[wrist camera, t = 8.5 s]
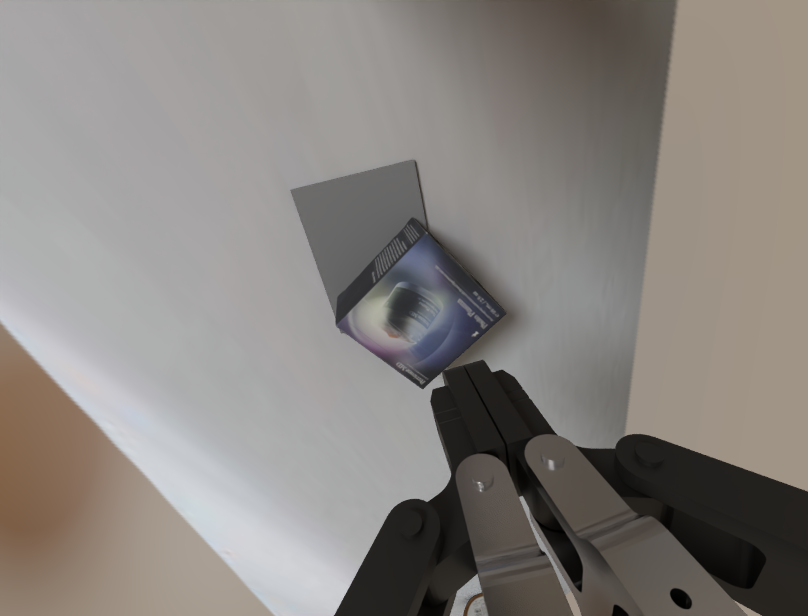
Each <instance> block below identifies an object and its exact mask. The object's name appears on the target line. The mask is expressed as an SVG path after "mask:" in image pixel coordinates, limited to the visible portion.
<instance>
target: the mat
mask: <svg viewBox="0 0 808 616" xmlns="http://www.w3.org/2000/svg"><path fill="white" fill-rule="evenodd" d="M291 193H292V196H293V199H294V202H295V205H296V207H297V210H298V213H299V216H300V219H301V222H302V224H303V227H304V230H305V233H306V236H307V239H308V241H309V244H310V247H311V250H312V253H313V256H314V258H315V261H316V264H317V267H318V270H319V273H320V275H321V278H322V281H323V284H324V287H325V290H326V292H327V295H328V298H329V301H330V304H331V307H332V309H333V312H334V315H335V318H336V306H337V297H338V296H339V295H340V294H341V293H342V292H343V291H344V290H345V289H346V288H347V287H348V286H349V285H350V284H351V283H352V282H353V281H354V280H355V279H356V278H357V277H358V276H359V275H360V274H361V272H362V271H363V270H364V269H365V268H366V267H367V266H368V265H369V264H370V263H371V262H372V261H373V259H374V258H375V257H376V256H377V255H378V254H379V253H380V252H381V251H382V250H383V249H384V248H385V247H386V246H387V245H388V244H389V242H390V241H391V240H392V239H393V238H394V237H395V236H396V235H397V234H398V233H399V232H400V231H401V230H402V229H403V228H404V227H405V225H406V224H407V222H408V221H409V220H410V219H411V218H412V217H414V218H415V219H416V220H417V221H418V222H419V223H420V224H421V225H422V226H423V227H424V228H425V229H426V230H427V226H426V220H425V215H424V210H423V204H422V199H421V194H420V188H419V183H418V178H417V172H416V167H415V162H414V160H410V161H406V162H402V163H398V164H394V165H389V166H385V167H381V168H377V169H373V170H369V171H365V172H361V173H357V174H353V175H349V176H345V177H341V178H337V179H333V180H329V181H325V182H321V183H317V184H313V185H309V186H305V187H301V188H297V189H293V190H291ZM340 332H341V333H344V332H343V331H342V330H340Z"/></svg>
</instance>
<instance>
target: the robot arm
mask: <svg viewBox="0 0 808 616" xmlns="http://www.w3.org/2000/svg"><path fill="white" fill-rule="evenodd" d="M442 374H443V379H444V384H445V386H443V387H440V388H436V389H433V391H432V396H431V401H430V402H431V406H432V410H433V414H434V418H435V422H436V426H437V430H438V434H439V437H440V440H441V443H442V446H443V449H444V452H445V455H446V459H447V462H448V465H449V468H450V471H451V478H450V480H449V483H448V484H447V486H446V487H445V489H444V490H443V491H442V492H441V493H439V494H438V495H437V496H435V497H434V498H433V499H431V500H430V501H428V502H426V501H424V500H420V499H409V500H405V501H403V502H401V503H399V504H398V505H396V506H395V507H394V508H393V509H392V510H391V512H390V513H389V515H388V516H387V518H386V520H385V522H384V524H383V526H382V527H381V529H380V531H379V533H378V535H377V537H376V539H375V540H374V542H373V544H372V546H371V548H370V550H369V552H368V554H367V555H366V557H365V559H364V561H363V563H362V565H361V567H360V568H359V570H358V572H357V574H356V576H355V578H354V580H353V582H352V583H351V585H350V587H349V589H348V591H347V593H346V595H345V596H344V598H343V600H342V602H341V604H340V606H339V608H338V609H337V611H336V613H335V615H334V616H450V613H451V609H452V606H453V603H454V600H455V597H456V593H457V591H458V590H459V589H460V588H461V587H462V586H464V585H465V584H466V583H467V582H468V581H469V580H471V579H472V578H473V577H474V576H475V575H476V574H478V577H479V581H480V585H481V590H482V594H483V598H484V602H485V606H486V610H487V614H488V616H574V615H573V613H572V611H571V608H570V606H569V603H568V601H567V599H566V596H565V594H564V592H563V589H562V587H561V584H560V582H559V580H558V577H557V575H556V573H555V570H554V568H553V566H552V564H551V562H550V560H549V558H548V556H547V555H546V553H545V552H543V551H542V550H541V549H540V547H539V545H538V543H537V540H536V538H535V535H534V533H533V531H532V528H531V526H530V523H529V521H528V518H527V516H526V513H525V511H524V508H523V506H522V504H521V501H520V499H519V497H520V496H523V497H524V499H525V501H526V503H527V505H528V507H529V513H530V519H531V522H532V524H533V526H534V528H535V530H536V531H537V533H538V535H539V536H540V538H541V540H542V542H543V543H544V545H545V547H546V549H547V550H548V552H549V554H550V555H551V557H552V559H553V561H554V562H555V564H556V566H557V568H558V569H559V571H560V573H561V574H562V576H563V578H564V580H565V581H566V583H567V585H568V586H569V588H570V590H571V592H572V593H573V595H574V597H575V599H576V601H577V604H578V606H579V609H580V612H581V615H582V616H747V615H746V614H745V613H744V611H743V610H742V609H741V608H740V607H739V606H738V605H737V604H736V603H735V602H734V601H733V600H735V601H737V602H738V603H740V604H742V605H744V606H746V607H747V608H749V609H751V610H753V611H755V612H756V613H759V614H760V615H762V616H808V492H807V491H805V490H802V489H799V488H796V487H793V486H790V485H788V484H785V483H782V482H779V481H776V480H774V479H771V478H768V477H765V476H762V475H759V474H757V473H754V472H751V471H748V470H745V469H743V468H740V467H737V466H734V465H731V464H729V463H726V462H723V461H720V460H717V459H715V458H711V457H709V456H706V455H703V454H701V453H698V452H695V451H692V450H689V449H686V448H683V447H681V446H678V445H675V444H672V443H669V442H667V441H664V440H661V439H658V438H655V437H652V436H649V435H643V434H632V435H627V436H625V437H623V438H621V439H620V440H619V441H618V443H617V444H616V448H615V449H591V448H582V447H578V446H575V445H574V444H573V443H571V442H570V441H569V440H567V439H565V438H563V437H561V436H558V435H557V434H556V433H555V432H554V431H553V429H552V428H551V426H550V425H549V424H548V422H547V421H546V420H545V418H544V417H543V415H542V414H541V413H540V411H539V410H538V409H537V407H536V406H535V405H534V403H533V402H532V400H531V399H529V396H528V395H527V394H526V392H525V391H524V390H523V389H522V387H521V385H520V384H519V383H518V381H517V380H516V379H515V377H513V376H512V375H510V374H508V373H507V372H505V371H503V370H499V371H496V372H491V370H490V369H489V367H488V366H487V364H486V363H485V361H484V360H480V361H477V362H473V363H470V364H466V365H463V366H459V367H456V368H452V369H449V370H445V371H442ZM732 599H733V600H732Z"/></svg>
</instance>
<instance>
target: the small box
mask: <svg viewBox="0 0 808 616" xmlns="http://www.w3.org/2000/svg"><path fill="white" fill-rule="evenodd" d="M504 315H506V312H505V310H504V309H503V308H502V307H501V306H500V305H499V304H498V303H497V302H496V301H495V300H494V299H493V298H492V297H491V295H490V294H489V293H488V292H487V291H486V290H485V289H484V288H483V287H482V286H481V285H480V284H479V282H477V281H476V280H475V279H474V278H473V277H472V276H471V275H470V274H469V273H468V272H467V271H466V270H465V269H464V268H463V267H462V266H461V265H460V264H459V263H458V262H457V261H456V260H455V259H454V258H453V257H452V256H451V255H450V254H449V253H448V252H447V251H446V250H445V249H444V248H443V247H442V246H441V245H440V243H439V242H438V241H437V240H436V239H435V238H434V237H433V236H432V235H431V234H430V233H429V232H428V231H427V230H426V229H425V228H424V227H423V226H422V225H421V224H420V223H419V222H418V221H417V220H416V219H415V218H414V217H412V218H411V219H410V220H409V221H408V222H407V224H406V225H405V227H404V228H403V229H402V230H401V231H400V232H399V233H398V234H397V235H396V236H395V237H394V238H393V239H392V240H391V241H390V242H389V244H388V245H387V246H386V247H385V248H384V249H383V250H382V251H381V252H380V253H379V254H378V255H377V256H376V257H375V258H374V259H373V261H372V262H371V263H370V264H369V265H368V266H367V267H366V268H365V269H364V270H363V271H362V272H361V274H360V275H359V276H358V277H357V278H356V279H355V280H354V281H353V282H352V283H351V284H350V285H349V286H348V287H347V288H346V289H345V290H344V291H343V292H342V293H341V294H340V295H339V296H338V297H337V306H336V327H337V328H339V329H340V330H342V331H343V332H344V333H346V334H347V335H349V336H350V337H351V338H353V339H354V340H355V341H357V342H358V343H359V344H361V345H362V346H364V347H365V348H366V349H368V350H369V351H370V352H372V353H373V354H375V355H376V356H377V357H379V358H380V359H382V360H383V361H384V362H386V363H387V364H388V365H390V366H391V367H392V368H394V369H395V370H397V371H398V372H399V373H401V374H402V375H403V376H405V377H406V378H408V379H409V380H410V381H412V382H413V383H415V384H416V385H417V386H419V387H420V388H421V389H424V388H425V387H426V386H427V385H428V384H429V383H430V382H431V381H432V380H433V379H434V378H436V377H437V376H438V375H439V374H440V373H441V372H442V371H443V370H444V369H446V368H447V367H448V366H449V365H450V364H451V363H452V362H453V361H454V360H455V359H456V358H458V357H459V356H460V355H461V354H462V353H463V352H464V351H465V350H466V349H468V348H469V347H470V346H471V345H472V344H473V343H474V342H475V341H477V340H478V339H479V338H480V337H481V336H482V335H483V334H484V333H485V332H487V331H488V330H489V329H490V328H491V327H492V326H493V325H494V324H495V323H497V322H498V321H499V320H500V319H501V318H502V317H503V316H504Z"/></svg>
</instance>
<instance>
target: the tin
mask: <svg viewBox="0 0 808 616" xmlns="http://www.w3.org/2000/svg"><path fill="white" fill-rule="evenodd" d="M463 616H488V614H487V610H486V606H485V602H484V598H483V594H482V593H480V594H477V595H475V596H473V597H472V598H471V599H470V600H469V602H468V603H467V605H466V607H465V610H464V615H463Z"/></svg>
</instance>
